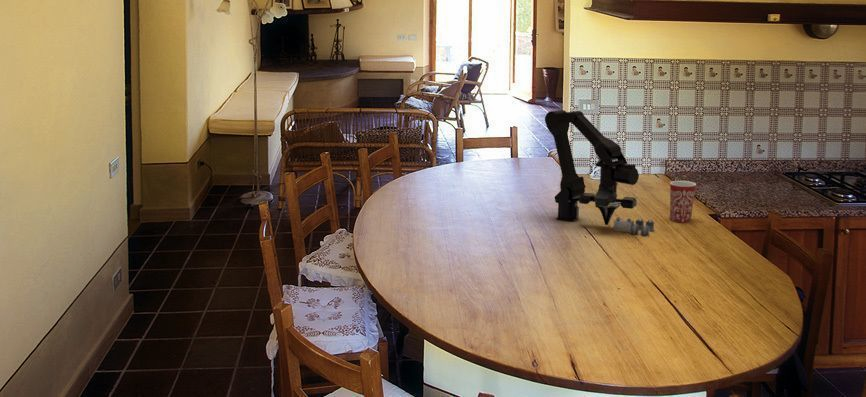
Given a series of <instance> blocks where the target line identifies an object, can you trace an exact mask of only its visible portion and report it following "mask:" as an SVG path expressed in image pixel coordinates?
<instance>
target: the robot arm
mask: <svg viewBox="0 0 866 397" xmlns="http://www.w3.org/2000/svg"><path fill="white" fill-rule="evenodd" d="M544 122H545V125H546V128H547V130H548V132H549V133H550V134H551V135H552V136H553V140H554V145H555V149H556V154H557V157H558V162H559V167H560V171H561V172H560V173H561V180H560V184H559V186H560V191H559V192H558V193H557V194H556V195H555V196H554V202H555V203H556V204H558V207H557V217H556V218H555V219H556V220H561V221H570V222H574V221H575V220H577V219H578V218H580V217H579V216H580V215H579V214H580V206H579V205H578V203H579V204H584V205H588V204H590V202H593V203H594V205H595V208H597V209H598V210H599V211H600V213H601V217H602V219H603V222H604V225H605V226H609V223H610V221H611V219H612V216H613V214H614V212H615V211H616V209H618V208H619V207H622V208H623V209H631V210H632V209H634V208H635V207H636V206H637V201H638V200H637V199H636V197H633V196H632V197H631V196H625V197H623V198H618V194H617V189H618V184H625V185H629V186H634V185H636V184H637V183H638V180H639V177H640V174H639V170H638V169H637V168H636V164H634V163H633V164H632V163H628V162H627V160H626V158H625V156H624V154H623V152H622V148H621V146H620V145H619V144H618V143H617V142H616V141H614V140H612V139H611V138H608V137H606V136H604V135H603V134H602V132H600V131H599V130H598V128H597V127H596V126H594V124H592V122H590V120H589V119H588V118H587V117H586V116H585V114H584V113H583V112H582V111H580V110H574V111H566V110H564V109H557V110H553V111H548V112H547V113H546V115H545V116H544ZM570 123H571V124H572V125H573V126H574V127H575V128H576V130H578V132H580V133H581V134H582V136H584V138H586V140H587V141H588V142H589V144H591V146H593V150H594V153H595V154H596V157H597V158H598V159H599V161H598V162H596V163H595V167H598V168H600V174H599V177H600V178H599V184H598V189H597V191H596V193H592V192H586V187H587V186H586V184H585V180H584V179H585V178H584V176H579V175H578V173H577V171H576V168H575V167H576V166H575V163H574V157H573V154H572V149H571V145H570V144H571V143H570V139H569V136H568V135H569V134H568V133H569V129H570Z"/></svg>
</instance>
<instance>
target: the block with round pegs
mask: <svg viewBox="0 0 866 397" xmlns="http://www.w3.org/2000/svg"><path fill="white" fill-rule="evenodd" d="M632 224H635V220H633V219H631V218H627V219H625V218H621V217H618V216H617V217H616V218H615V219H614V220H613V226H612V228H613V229H612V230H613V231H617V232H624V233H625V232H626V233H630V232H631V225H632Z"/></svg>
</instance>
